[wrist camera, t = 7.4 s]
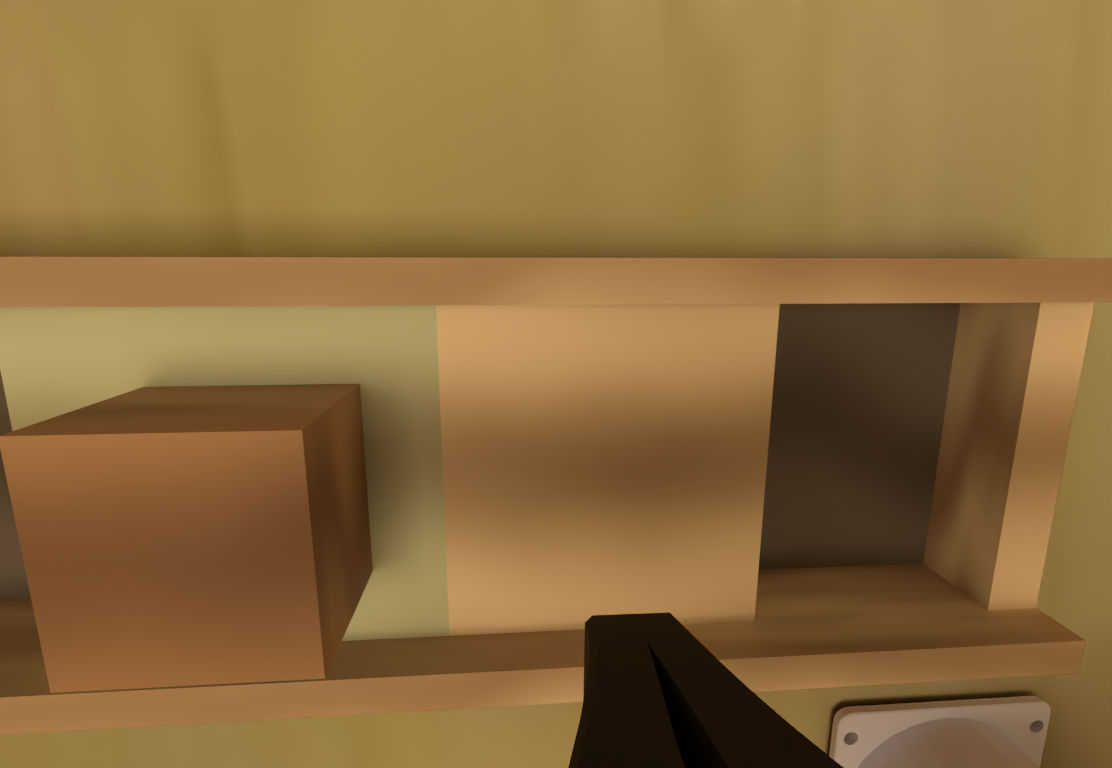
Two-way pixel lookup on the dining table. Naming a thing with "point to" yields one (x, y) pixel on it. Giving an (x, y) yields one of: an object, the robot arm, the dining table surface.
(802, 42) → the dining table surface
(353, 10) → the dining table surface
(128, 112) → the dining table surface
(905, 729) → the robot arm
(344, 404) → the walnut block
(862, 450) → the trap trough
